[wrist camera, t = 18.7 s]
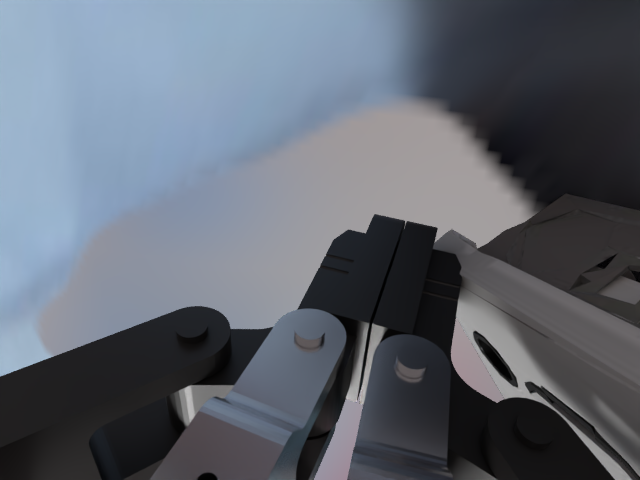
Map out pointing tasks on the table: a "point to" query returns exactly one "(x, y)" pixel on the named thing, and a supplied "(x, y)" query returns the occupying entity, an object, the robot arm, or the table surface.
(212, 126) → the table surface
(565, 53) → the table surface
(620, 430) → the electrical switch
